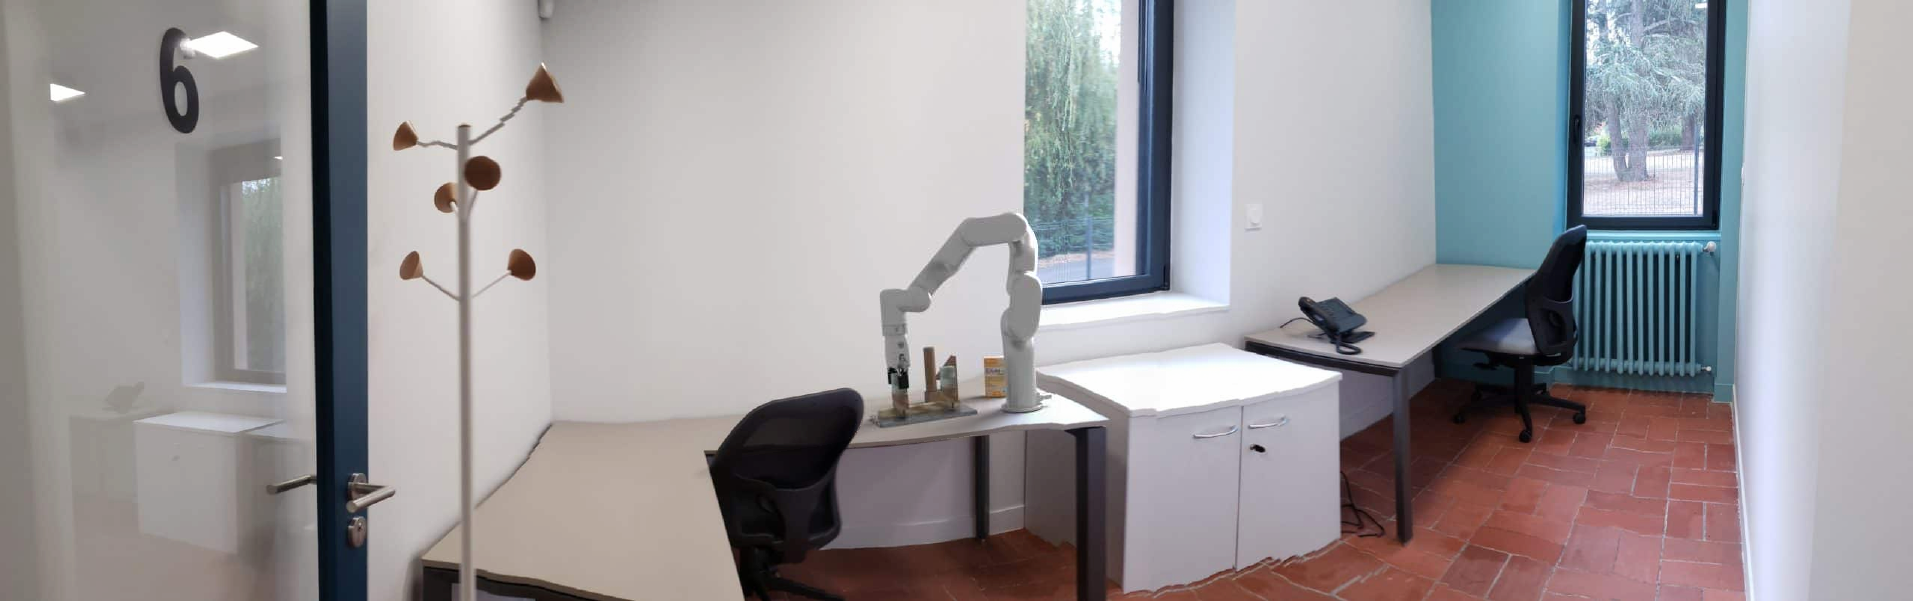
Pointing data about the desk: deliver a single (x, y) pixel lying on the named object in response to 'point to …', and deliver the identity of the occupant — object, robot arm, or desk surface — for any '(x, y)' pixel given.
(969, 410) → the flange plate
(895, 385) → the sliding leg
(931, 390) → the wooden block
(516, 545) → the desk surface
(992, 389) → the supplement box
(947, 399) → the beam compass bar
